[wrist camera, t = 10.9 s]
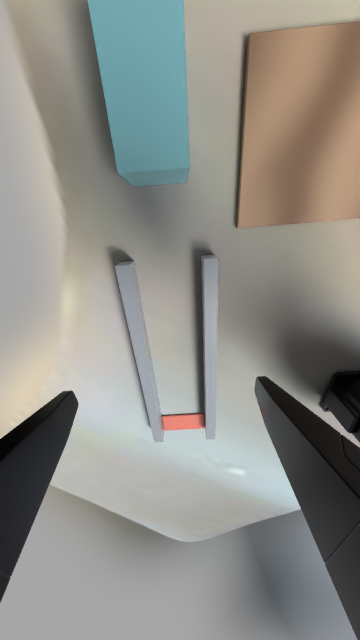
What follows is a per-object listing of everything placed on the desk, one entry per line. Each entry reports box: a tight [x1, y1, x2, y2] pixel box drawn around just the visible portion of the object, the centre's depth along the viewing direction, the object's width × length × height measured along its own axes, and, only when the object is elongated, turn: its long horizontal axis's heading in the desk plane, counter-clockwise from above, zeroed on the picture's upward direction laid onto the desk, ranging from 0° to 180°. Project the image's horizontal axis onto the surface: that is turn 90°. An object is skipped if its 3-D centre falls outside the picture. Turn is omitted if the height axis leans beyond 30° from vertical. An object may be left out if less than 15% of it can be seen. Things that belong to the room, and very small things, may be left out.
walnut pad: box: [237, 22, 360, 228], centre depth 13 cm, size 10×10×1 cm
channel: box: [115, 255, 219, 442], centre depth 22 cm, size 8×24×2 cm, turn 4°
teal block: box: [87, 0, 189, 187], centre depth 11 cm, size 4×7×4 cm, turn 4°
